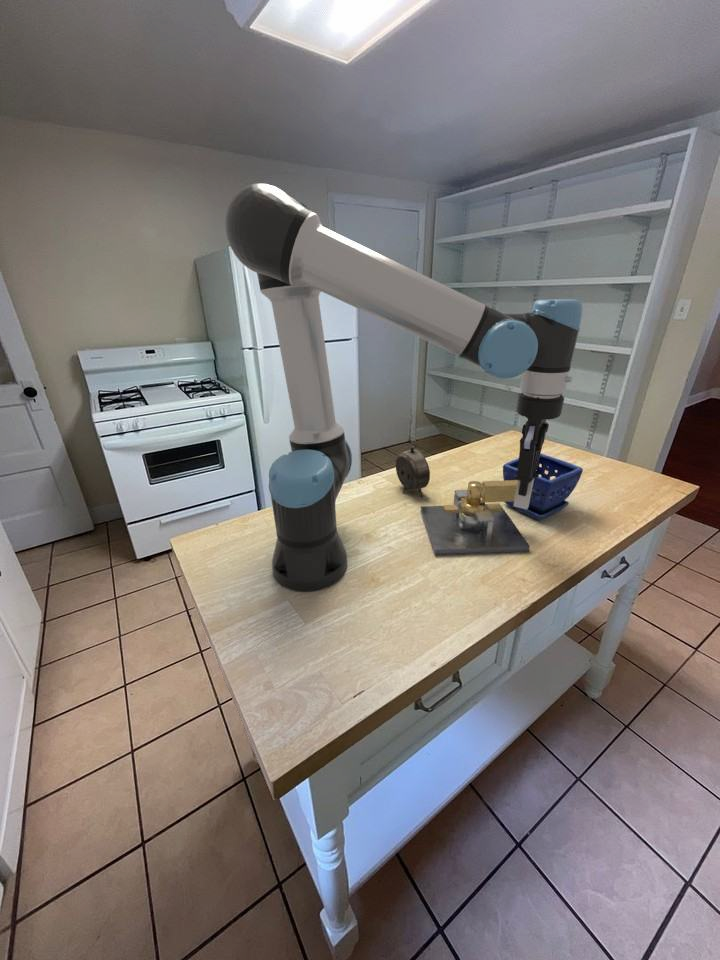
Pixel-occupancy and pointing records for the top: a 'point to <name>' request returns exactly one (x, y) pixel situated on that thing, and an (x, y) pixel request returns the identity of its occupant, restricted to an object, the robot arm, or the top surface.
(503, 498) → the lever handle
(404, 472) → the alarm clock
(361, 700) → the top surface
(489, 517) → the socket
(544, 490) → the flower pot
